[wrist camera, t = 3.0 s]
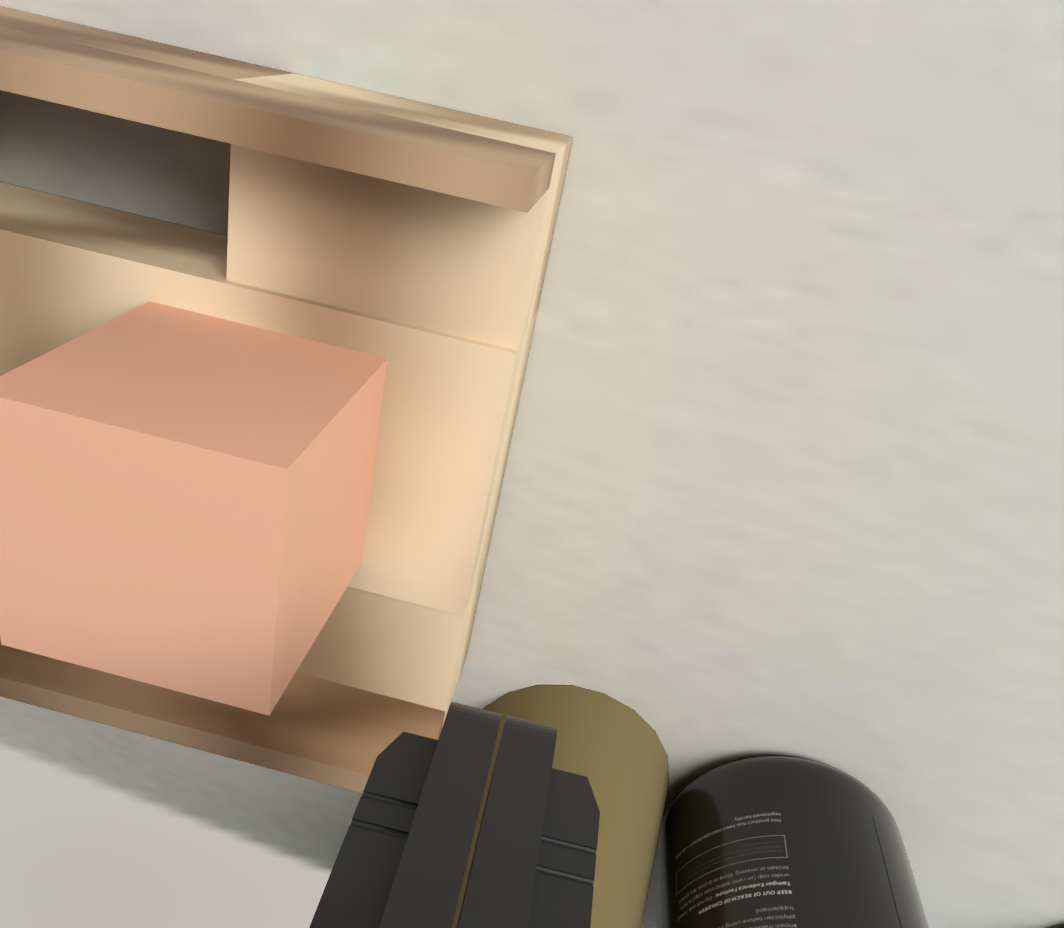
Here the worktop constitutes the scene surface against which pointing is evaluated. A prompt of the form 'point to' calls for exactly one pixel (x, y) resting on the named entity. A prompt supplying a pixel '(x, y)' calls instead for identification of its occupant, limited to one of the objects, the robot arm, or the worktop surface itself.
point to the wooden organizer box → (319, 315)
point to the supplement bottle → (783, 852)
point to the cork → (600, 788)
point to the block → (184, 500)
